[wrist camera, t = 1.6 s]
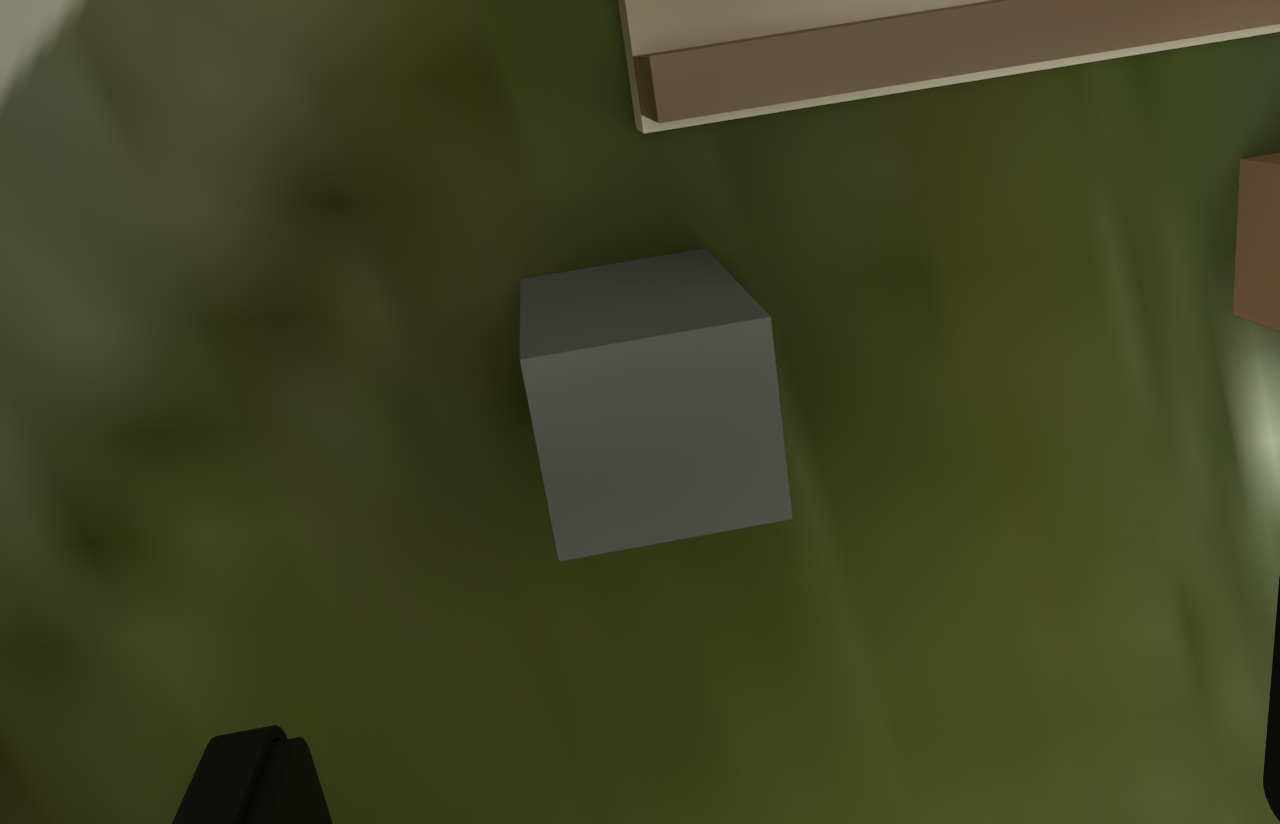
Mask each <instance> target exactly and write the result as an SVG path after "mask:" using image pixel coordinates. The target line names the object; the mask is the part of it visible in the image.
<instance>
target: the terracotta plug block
mask: <svg viewBox="0 0 1280 824" xmlns="http://www.w3.org/2000/svg"><path fill="white" fill-rule="evenodd" d="M1233 315H1236V316H1238V317H1241V318H1244V319H1247V320H1249V321H1252V322H1255V323H1258V324H1260V325H1263V326H1266V327H1269V328H1271V329H1274V330H1277V331H1279V332H1280V152H1279V153H1273V154H1267V155H1261V156H1255V157H1249V158H1243V159H1240V175H1239V196H1238V218H1237V239H1236V260H1235V282H1234V303H1233Z"/></svg>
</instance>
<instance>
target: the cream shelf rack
mask: <svg viewBox="0 0 1280 824" xmlns="http://www.w3.org/2000/svg"><path fill="white" fill-rule="evenodd" d="M618 4H619V11H620V18H621V25H622V32H623V39H624V46H625V53H626V60H627V67H628V74H629V81H630V88H631V95H632V102H633V109H634V116H635V123H636V129H637V130H639V131H640V132H642V133H643V134H645V133H651V132H657V131H663V130H670V129H676V128H682V127H688V126H695V125H701V124H707V123H713V122H719V121H726V120H732V119H738V118H744V117H751V116H757V115H763V114H769V113H776V112H782V111H788V110H794V109H801V108H807V107H813V106H819V105H826V104H832V103H838V102H844V101H850V100H857V99H863V98H869V97H875V96H882V95H888V94H894V93H900V92H907V91H913V90H919V89H925V88H932V87H938V86H944V85H950V84H957V83H963V82H969V81H975V80H981V79H988V78H994V77H1000V76H1006V75H1013V74H1019V73H1025V72H1031V71H1038V70H1044V69H1050V68H1056V67H1063V66H1069V65H1075V64H1081V63H1088V62H1094V61H1100V60H1106V59H1112V58H1119V57H1125V56H1131V55H1137V54H1144V53H1150V52H1156V51H1162V50H1169V49H1175V48H1181V47H1187V46H1194V45H1200V44H1206V43H1212V42H1219V41H1225V40H1231V39H1237V38H1243V37H1250V36H1256V35H1262V34H1268V33H1275V32H1280V0H618Z"/></svg>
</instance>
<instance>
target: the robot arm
mask: <svg viewBox="0 0 1280 824" xmlns="http://www.w3.org/2000/svg"><path fill="white" fill-rule="evenodd" d="M1263 785H1264V791H1265V795H1266V798H1267V800H1268V803H1269V805H1270V807H1271V809H1272V811H1273V813H1274V814H1275V816H1276V817H1277V818H1278V820H1279V821H1280V578H1279V590H1278V603H1277V615H1276V627H1275V639H1274V652H1273V664H1272V676H1271V689H1270V701H1269V713H1268V725H1267V738H1266V750H1265V762H1264V775H1263ZM172 824H333V823H332V820H331V817H330V814H329V811H328V807H327V804H326V801H325V798H324V795H323V791H322V788H321V785H320V782H319V778H318V775H317V772H316V769H315V766H314V762H313V759H312V756H311V753H310V750H309V747H308V745H307V743H306V741H305V740H304V739H303V738H301V737H298V738H292V739H287V737H286V734H285V733H284V731H283V730H282V729H281V727H279V726H276V725H274V726H268V727H263V728H257V729H252V730H247V731H241V732H236V733H230V734H225V735H219V736H216V737H214V738H212V739H211V740H210V742H209V744H208V745H207V747H206V749H205V751H204V754H203V756H202V758H201V760H200V762H199V765H198V767H197V769H196V771H195V774H194V776H193V778H192V780H191V783H190V785H189V787H188V789H187V791H186V794H185V796H184V798H183V800H182V803H181V805H180V807H179V809H178V812H177V814H176V816H175V818H174V820H173V823H172Z"/></svg>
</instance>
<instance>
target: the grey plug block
mask: <svg viewBox="0 0 1280 824" xmlns="http://www.w3.org/2000/svg"><path fill="white" fill-rule="evenodd" d="M520 363H521V368H522V373H523V379H524V384H525V389H526V394H527V399H528V405H529V410H530V415H531V420H532V425H533V430H534V436H535V441H536V446H537V451H538V456H539V461H540V467H541V472H542V477H543V482H544V487H545V493H546V498H547V503H548V508H549V513H550V518H551V524H552V529H553V534H554V539H555V544H556V549H557V555H558V560H559V561H565V560H570V559H576V558H581V557H587V556H592V555H598V554H603V553H609V552H614V551H620V550H625V549H631V548H636V547H642V546H647V545H653V544H658V543H664V542H669V541H675V540H680V539H686V538H691V537H697V536H702V535H708V534H713V533H719V532H724V531H730V530H735V529H741V528H746V527H752V526H757V525H763V524H768V523H774V522H779V521H785V520H790V519H793V518H792V509H791V499H790V490H789V481H788V471H787V462H786V453H785V443H784V434H783V425H782V415H781V406H780V397H779V387H778V378H777V369H776V359H775V350H774V341H773V331H772V322H771V316H770V315H769V314H768V313H767V312H766V311H765V310H764V309H763V308H762V307H761V306H760V305H759V304H758V303H757V302H756V301H755V300H754V299H753V297H752V296H751V295H750V294H749V293H748V292H747V291H746V290H745V289H744V288H743V287H742V286H741V285H740V284H739V283H738V282H737V281H736V280H735V279H734V278H733V277H732V276H731V274H730V273H729V272H728V271H727V270H726V269H725V268H724V267H723V266H722V265H721V264H720V263H719V262H718V261H717V260H716V259H715V258H714V257H713V256H712V255H711V254H710V252H709V251H708V250H707V249H706V248H704V249H698V250H692V251H686V252H680V253H674V254H668V255H662V256H656V257H650V258H644V259H638V260H632V261H626V262H620V263H614V264H608V265H602V266H596V267H590V268H584V269H578V270H572V271H566V272H560V273H554V274H548V275H542V276H536V277H530V278H525V279H520Z"/></svg>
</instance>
